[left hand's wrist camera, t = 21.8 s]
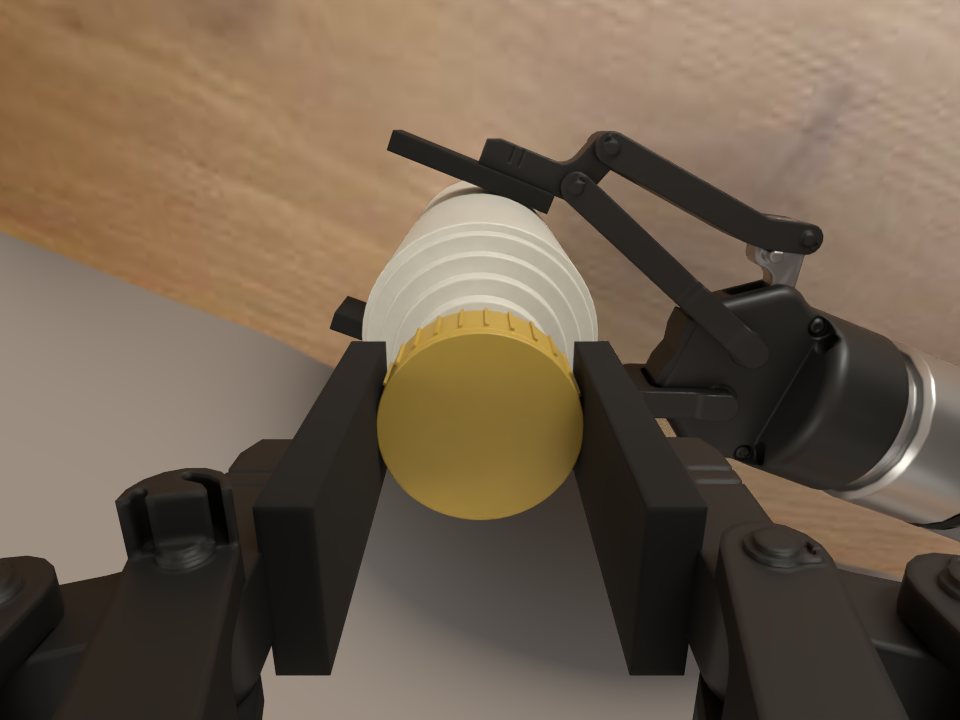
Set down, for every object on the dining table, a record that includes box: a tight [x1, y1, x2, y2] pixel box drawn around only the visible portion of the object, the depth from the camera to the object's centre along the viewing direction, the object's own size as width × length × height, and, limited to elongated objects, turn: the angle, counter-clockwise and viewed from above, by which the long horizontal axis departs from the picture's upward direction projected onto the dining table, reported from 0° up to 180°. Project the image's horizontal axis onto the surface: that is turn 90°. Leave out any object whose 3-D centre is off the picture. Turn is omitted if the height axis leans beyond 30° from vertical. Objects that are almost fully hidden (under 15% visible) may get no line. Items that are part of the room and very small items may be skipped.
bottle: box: [362, 181, 598, 372], centre depth 23 cm, size 7×7×20 cm
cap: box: [377, 308, 584, 520], centre depth 14 cm, size 4×4×2 cm
